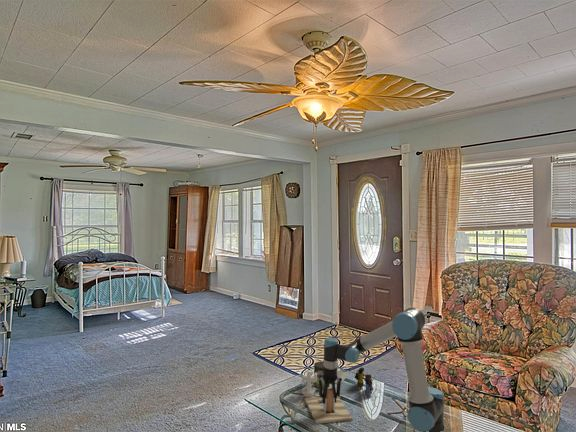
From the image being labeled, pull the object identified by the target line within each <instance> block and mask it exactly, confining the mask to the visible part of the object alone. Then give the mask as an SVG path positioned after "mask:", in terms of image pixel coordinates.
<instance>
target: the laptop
mask: <svg viewBox="0 0 576 432" xmlns="http://www.w3.org/2000/svg"><path fill="white" fill-rule="evenodd" d="M322 362H324V359H323V360H322ZM337 376H338V377H341V378H342V381H341V384H342V383H343V382H344V381H345V379H347V378H348V377H349V376H350V373H347V372H344V371H341V370H337ZM335 384H337V380H336V381H335Z"/></svg>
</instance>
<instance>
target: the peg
mask: <svg viewBox="0 0 576 432" xmlns="http://www.w3.org/2000/svg"><path fill="white" fill-rule="evenodd" d="M333 396H334V395H333V388H332V387H328V388H327V393H326V398H327V408H326V410H325V409H324V410H325V412H326V413H333Z"/></svg>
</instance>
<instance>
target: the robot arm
mask: <svg viewBox="0 0 576 432" xmlns="http://www.w3.org/2000/svg"><path fill="white" fill-rule="evenodd" d="M425 324H426V316H425V314H424V313H423V311H422V310H421V309H419V308H417V307H408V308H406V309H404V310H403V311H401V312H399V313H397V314H396V315H395V317H394V318H393V319H392V320H391V321H389V322H388V323H385V324H384V325H382V326H380V327H378V328H376V329H374V330H372V331H370V332H368V333H366V334H365V335H363V336H361V337H359V338H356V339H355V340H353V341H352V342H350V343H348V344H347V345H343V344H340V343H339V340H338V339H337V338H336V337H335V338H334V337H327V338H325V339H324V342H323V360H324V367H323V376H322V378H318V381H319V390H318V395H319V396H318V397H321V398H322V404H323V409H324V410H326V408H327V398H326V393H327V388H328V386H329V384H330V385H331V388H333V410H335V403H336V398H337V396H338V397H340V396H341V385H342V383H341V381H342V378H341V377H338V376H337V371H338V360H342V361H344V362H347V363H351V364H356V363H357V362H358V360H359V358H360V355H361V354H363V353H365V352H366V351H369V350H370V349H372V348H374V347H377V346H379V345H381V344H383V343H385V342H387V341H389V340H391V339H393V338H396V337H397V341H398V342H399V343H400V344H401V347H402V353H403V358H404V364H405V370H406V376H407V381H408V387H409V388H408V389H409V393H410V395H408V397H407V400H408V401H407V402H408V406H409V409H408V411H407V415H406V416H407V420H408V422H409V424H410V425H411V426H412V427H413V428H414V430H415V429H417V430H419V431H423V432H426V431H429V432H440V431H443V430H444V428H445V429H446V427H445V424H444V415H445V414H444V411H445V394H444V392H443V391H442V390H440V389H438V388H435V387H433V386H432V387H431V386H429V384H428V379H427V374H426V368H425V363H424V362H425V361H424V356H423V352H422V351H423V350H422V345H421V342H422V341H423V332H422V329H423V328H424V327H425ZM323 380H324V381H325V383H324V384H325V385H324V389H323V391H322V382H323ZM336 380H337V383H335V381H336Z"/></svg>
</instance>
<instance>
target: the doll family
mask: <svg viewBox="0 0 576 432" xmlns="http://www.w3.org/2000/svg"><path fill="white" fill-rule="evenodd" d="M364 371H365V368H364V367H360V368H359V369H358V370H357V372H355V375H353V377H354V379H356V380H357V383H356V385H357V387H356V388H357V389H358V390H359V391H361V390H364V388H363V387H365V396H366V398H367V397H372V396H371V394H373V393H372V392H373V391H374V388H373V385H374V384H373V381H374V379H373V378H372V375H371V374H364ZM364 382H365V384H364Z"/></svg>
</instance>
